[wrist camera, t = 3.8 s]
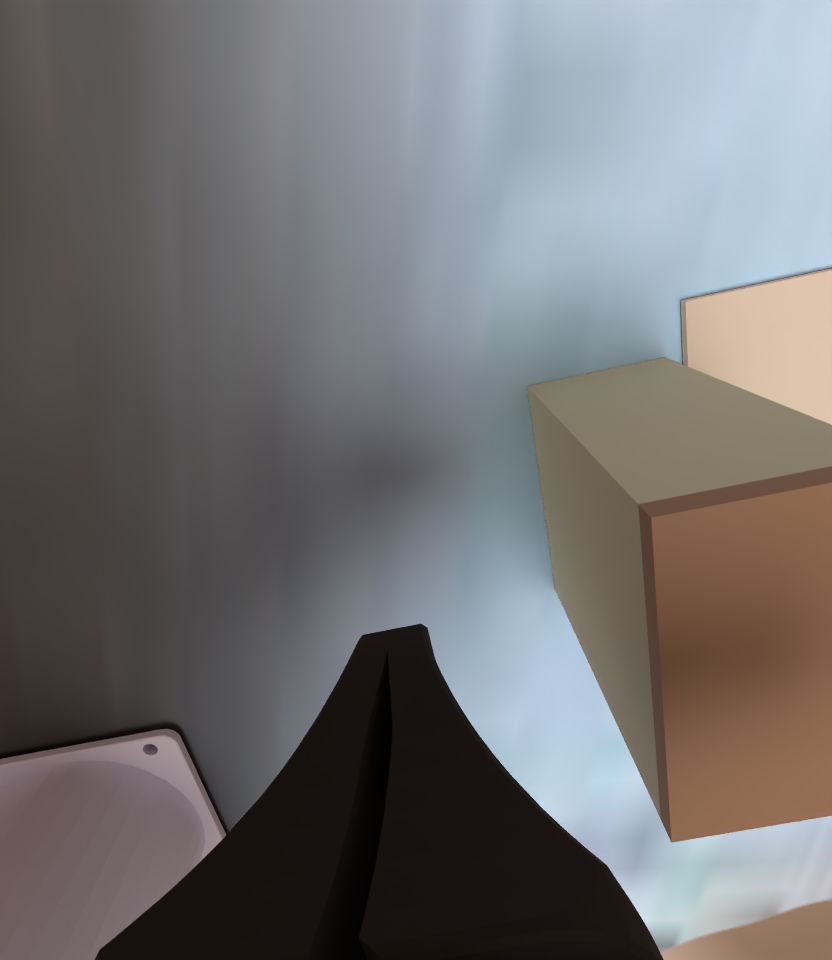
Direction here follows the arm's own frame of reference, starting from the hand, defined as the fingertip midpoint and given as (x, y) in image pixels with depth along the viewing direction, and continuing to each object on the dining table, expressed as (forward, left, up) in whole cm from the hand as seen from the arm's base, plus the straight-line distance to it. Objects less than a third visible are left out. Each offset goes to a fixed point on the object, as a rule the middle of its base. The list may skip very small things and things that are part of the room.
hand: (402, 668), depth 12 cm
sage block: (+6, 0, -7) cm, 10 cm away
